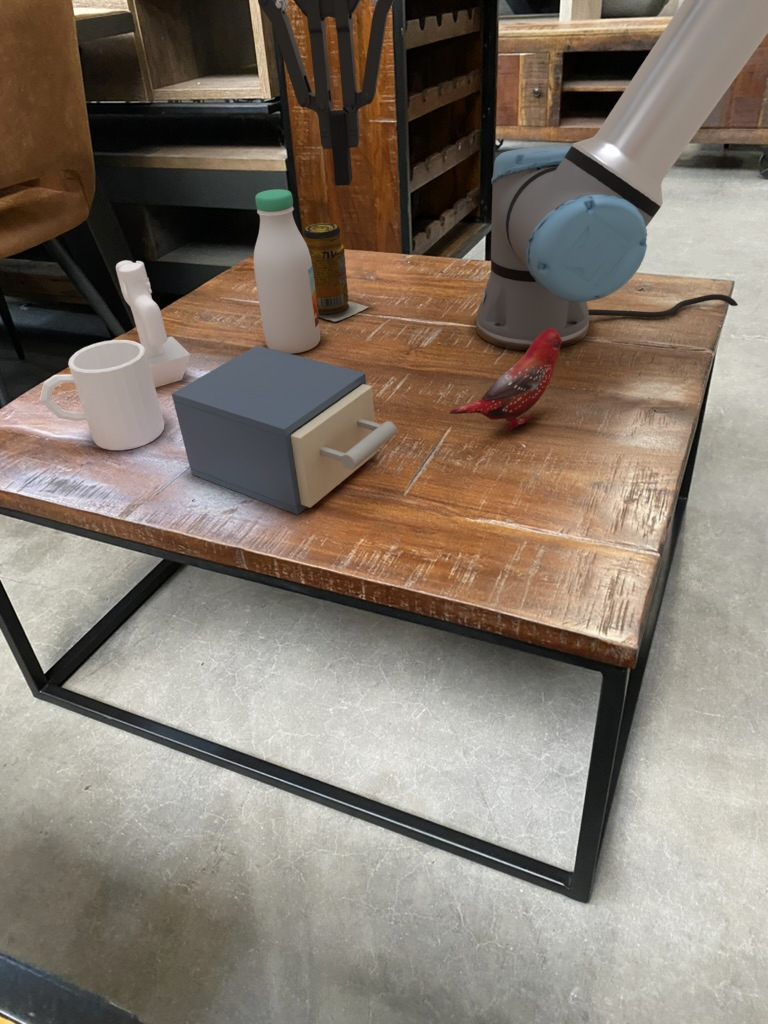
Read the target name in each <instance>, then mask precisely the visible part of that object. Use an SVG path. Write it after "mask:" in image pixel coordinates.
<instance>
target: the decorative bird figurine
mask: <svg viewBox="0 0 768 1024" xmlns="http://www.w3.org/2000/svg"><path fill="white" fill-rule="evenodd" d="M562 342H563V341H562V339H561V338H560V335H559V333H558V331H557V330H555V329H554V328H549V329H546V330H545V331H543V332H542V333H541V334H540V335H539V336H538V337H537V338H536V339H535V340H534V341H533V342H532V344H531V345H530V347H529V349H528V350H526V352H525V353H524V355H523V356H522V357H521V358H520V359H519V360H518V361H517V362H516V363H515V364H514V365H513V366H512V367H510V368H509V369H508V370H506V371H505V372H504V373H503V374H502V375H501V376H500V377H499V378H498V379H497V380H496V381H495V382H494V383H493V384H492V385H491V386H490V387H489V388H488V389H487V391H486V392H485V393H484V394H483V396H482V397H481V398H480V399H479V400H477V401H474V402H470V403H468V404H465V405H462V406H459V407H456V408H454V409H452V410H450V411H449V414H451V415H460V414H461V415H462V414H473V413H475V414H480V415H483V416H484V417H486V418H487V419H489V420H493V421H497V420H506V421H507V422H510V423H509V424H508V425H507V426H506V427H505V429H504V431H503V432H504V433H505V432H506V431H507V430H508V431H510V430H512V429H514V428H516V427H518V426H520V425H524V424H525V423H526V422H527V421H529V420H528V419H530V418H531V417H532V416H534V415H535V414H536V413H535V412H533V413H531V414H529V415H528V416H523V415H524V414H525V413H527V412H528V411H529V410H530V409H532V408H533V407H534V406H535V405H536V404H537V403H538V401H539V400H540V399H541V398H542V396H543V395H544V393H545V392H546V389H547V388H548V386H549V384H550V382H551V379H552V377H553V373H554V370H555V367H556V364H557V363H556V362H557V361H558V358H559V355H560V349H561V348H560V344H561V343H562ZM520 416H521V417H520ZM519 417H520V418H519Z"/></svg>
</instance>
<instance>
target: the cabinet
mask: <svg viewBox="0 0 768 1024" xmlns="http://www.w3.org/2000/svg"><path fill="white" fill-rule="evenodd" d="M362 384H365V385H367V376H366V373H365V372H362V371H358V370H355V369H351V368H347V367H343V366H339V365H335V364H331V363H327V362H323V361H319V360H316V359H312V358H307V357H304V356H300V355H297V354H293V353H292V354H288V353H284V352H280V351H276V350H272V349H269V348H268V347H264V346H260V345H255V346H253V347H251V348H250V349H248V350H246V351H244V352H243V353H240V354H239V355H236V356H235V357H234V358H232V359H230V360H228V361H226V362H224V363H223V364H221V365H220V366H217V367H216V368H213V369H212V370H210V371H209V372H207V373H205V374H203V375H202V376H200V377H198V378H197V379H194V380H193V381H191V382H189V383H188V384H186V385H184V386H182V387H180V388H178V389H177V390H175V391H173V392H172V393H171V397H172V398H171V399H172V401H173V405H174V409H175V413H176V417H177V421H178V424H179V425H178V426H179V429H180V433H181V438H182V441H183V445H184V449H185V455H186V457H187V461H188V466H189V469H190V474H191V475H192V476H195V477H196V478H197V477H198V478H200V479H203V480H206V481H208V482H211V483H213V484H215V485H218V486H221V487H223V488H227V489H229V490H232V491H234V492H237V493H240V494H242V495H244V496H247V497H249V498H252V499H255V500H257V501H260V502H262V503H264V504H265V503H266V504H268V505H271V506H273V507H276V508H278V509H280V510H283V511H286V512H289V513H291V514H294V515H297V516H299V515H300V514H301V513H302V512H303V511H305V510H306V509H307V508H308V507H307V506H304V505H301V502H300V495H299V488H298V482H297V475H296V469H295V462H294V455H293V449H292V442H291V433H292V432H293V431H294V430H296V429H297V428H299V427H300V426H302V425H303V424H304V423H306V422H307V421H309V420H310V419H311V418H313V417H314V416H316V415H317V414H319V413H320V412H321V411H323V410H324V409H326V408H327V407H328V406H330V405H331V404H333V403H334V402H336V401H337V400H338V399H340V398H341V397H343V396H344V395H345V394H347V393H348V392H349V393H351V392H352V391H354V390H355V389H356V388H358V387H359V386H361V385H362Z"/></svg>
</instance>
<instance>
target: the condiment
mask: <svg viewBox="0 0 768 1024" xmlns="http://www.w3.org/2000/svg"><path fill="white" fill-rule="evenodd" d="M302 234H303V239H304V241H305V243H306V245H307V247H308V250H309V253H310V257H311V261H312V268H313V275H314V283H315V291H316V299H317V308H318V317H319V318H320V319H323V320H327V321H332V322H338V321H341V320H345V319H346V318H349V317H351V316H353V315H357V314H358V313H360V312H362V311H363V312H364V311H365V310H366V309H368V308H369V306H368V305H364V304H362V303H357V302H355V301H350V300H349V290H348V289H349V288H348V278H347V277H348V276H347V267H346V255H345V246H344V245H343V244H342V237H341V228H340V226H338V225H337V224H335V223H329V222H322V223H313V224H310V225H308V226H306V227H304V229H303V232H302Z"/></svg>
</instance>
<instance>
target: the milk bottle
mask: <svg viewBox="0 0 768 1024" xmlns="http://www.w3.org/2000/svg"><path fill="white" fill-rule="evenodd" d="M254 197H255V199H254V200H255V206H256V209H257V210H256V213H257V214H258V215H259V229H258V234H257V238H256V242H255V245H254V250H253V269H254V271H253V272H254V279H255V286H256V292H257V300H258V306H259V312H260V318H261V324H262V331H263V338H264V343H265V345H266V348H268V349H272V350H276V351H280V352H284V353H288V354H292V355H293V354H299V353H304V352H306V351H310V350H312V349H314V348H315V347H317V346H318V345H319V343H320V341H321V327H320V317H319V316H318V308H317V299H316V291H315V283H314V275H313V268H312V261H311V257H310V253H309V250H308V247H307V245H306V243H305V241H304V236H302V234H301V232H300V230H299V228H298V226H297V224H296V222H295V219H294V215H293V211H295V208H294V206H293V205H294V198H293V194H292V192H291V191H290V190H288V189H281V188H280V189H279V188H278V189H267V190H264V191H260V192H257V194H256V195H255V196H254Z"/></svg>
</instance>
